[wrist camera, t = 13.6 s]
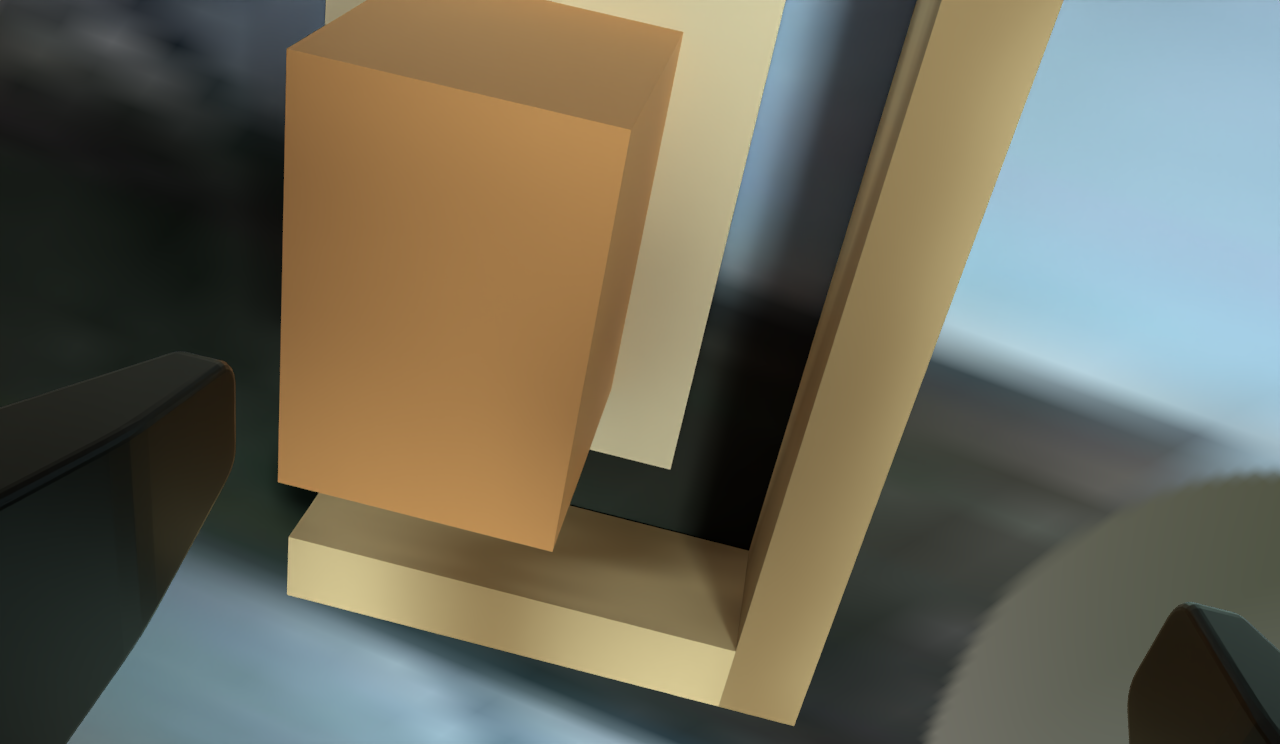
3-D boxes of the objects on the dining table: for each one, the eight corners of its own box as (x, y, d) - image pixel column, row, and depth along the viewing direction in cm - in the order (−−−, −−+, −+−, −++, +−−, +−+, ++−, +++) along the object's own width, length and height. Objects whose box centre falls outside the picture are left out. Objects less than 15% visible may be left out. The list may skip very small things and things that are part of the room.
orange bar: (611, 389, 22) (552, 552, 18) (388, 334, 22) (278, 482, 18) (683, 31, 19) (631, 130, 14) (416, -30, 19) (286, 48, 15)
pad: (796, -45, 18) (795, -42, 18) (672, 461, 23) (670, 469, 23) (339, -150, 18) (331, -147, 18) (317, 372, 24) (311, 379, 23)
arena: (1077, -169, 17) (1117, -146, 14) (800, 620, 25) (794, 725, 22) (394, -319, 17) (312, -322, 14) (345, 503, 25) (287, 594, 23)
